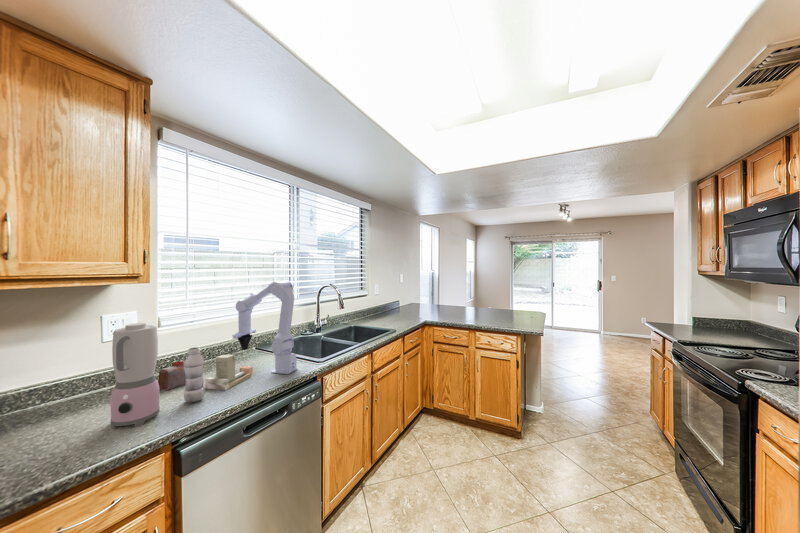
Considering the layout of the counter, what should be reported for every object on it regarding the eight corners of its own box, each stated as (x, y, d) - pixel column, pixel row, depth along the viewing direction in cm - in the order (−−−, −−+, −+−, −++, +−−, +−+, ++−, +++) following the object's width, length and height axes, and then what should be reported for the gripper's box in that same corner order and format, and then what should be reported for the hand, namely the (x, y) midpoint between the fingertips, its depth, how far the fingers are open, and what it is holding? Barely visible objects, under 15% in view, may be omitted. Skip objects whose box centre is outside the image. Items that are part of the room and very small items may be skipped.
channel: (251, 376, 137) (251, 368, 137) (225, 390, 122) (225, 380, 122) (232, 375, 139) (232, 366, 139) (205, 388, 124) (205, 378, 124)
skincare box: (235, 382, 130) (235, 354, 130) (228, 386, 126) (228, 357, 126) (223, 381, 132) (223, 354, 132) (215, 385, 127) (215, 357, 127)
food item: (187, 377, 137) (187, 356, 137) (200, 379, 135) (200, 357, 135) (155, 389, 124) (155, 365, 124) (169, 391, 122) (169, 367, 122)
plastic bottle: (194, 405, 109) (194, 351, 109) (179, 403, 110) (178, 350, 110) (208, 398, 115) (208, 346, 115) (194, 396, 116) (194, 345, 116)
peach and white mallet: (252, 372, 142) (252, 364, 142) (234, 381, 131) (234, 372, 131) (243, 372, 143) (243, 363, 143) (225, 381, 132) (225, 372, 132)
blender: (125, 413, 103) (125, 322, 103) (166, 408, 106) (166, 320, 106) (92, 438, 88) (92, 331, 88) (142, 432, 91) (141, 328, 91)
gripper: (247, 320, 161) (248, 345, 161) (227, 325, 146) (227, 353, 146) (259, 320, 159) (259, 346, 159) (239, 326, 145) (239, 353, 145)
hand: (244, 349), depth 153 cm, fingers closed
